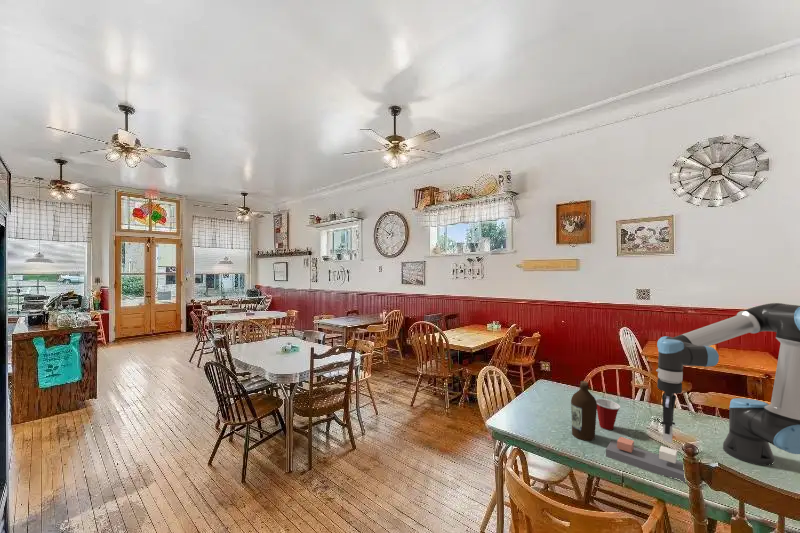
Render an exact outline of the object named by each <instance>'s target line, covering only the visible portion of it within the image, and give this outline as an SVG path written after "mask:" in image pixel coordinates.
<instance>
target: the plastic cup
mask: <svg viewBox="0 0 800 533" xmlns="http://www.w3.org/2000/svg"><path fill="white" fill-rule="evenodd" d="M595 400H596V402H597V413H596V414H597V419H598V423H599V426H600V428H601V429H604V430H607V431H611V430H614V427H615V423H616V419H617V415H618V412H619V410H620V409H621V405H620V404H618V403H617V402H615V401H612V400H609V399H606V398H605V399H604V398H595Z"/></svg>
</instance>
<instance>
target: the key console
mask: <svg viewBox="0 0 800 533" xmlns="http://www.w3.org/2000/svg"><path fill="white" fill-rule="evenodd" d="M605 457H607V458H609V459H613V460H615V461H618V462H622V463H623V464H624V463H625V464H627V465H630V466H633V467H635V468H639V469H643V470H644V471H648V472H651V473H654V474H656V473H657V474H656V475H659V474H660V476H662V475H664V476H663V477H665V476H668V477H672V478H677V479H680V480H681V481H683V482H684V483H683V484H686V482H685V478H684V470H683V463H682V462H683V461H680V460H677V459H676V463H672V462H669V461H666V460H662V459H659V453H658V454H657V453H654V452H651V451H648V450H645V449H641V448H638V447H635V446H634V449H633V451H632V453H630V452H627V451H624V450H621V449H618V448H617V441H616V440H613V439H612V440H611V441H610V442H609V444H608V445H607V447H606V448H605ZM668 477H667V478H668Z"/></svg>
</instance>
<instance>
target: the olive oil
mask: <svg viewBox="0 0 800 533" xmlns="http://www.w3.org/2000/svg"><path fill="white" fill-rule="evenodd" d="M595 399H596V398H595V397H594V395H593V394H592V393H591V392H590V391H589V382H588V381H585V380H581V381H580V384H579V389H578V390H577V391H576V392H575V393H573V394H572V396H571V399H570V409H571V434H572V435H573V437H574V438H576V439H578V440H581V441H587V442H590V441H591V442H592V441H594V440H595V439H596V423H597V414H598V413H597V402H596V400H595Z"/></svg>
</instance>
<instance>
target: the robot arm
mask: <svg viewBox="0 0 800 533" xmlns="http://www.w3.org/2000/svg"><path fill="white" fill-rule="evenodd" d="M760 332H774V333H775V339H776V340H777V341H778V342H779V343H780V345H779V351H778V358H777V363H776V370H775V375H774V376H775V377H774V381H773V382H774V383H773V389H772V393H771V400H770V404H768V403H767V402H765V401H761V400H758V399H753V398H752V399H751V398H741V397H738V398H737V397H735V398H732V399H730V402H729V413H728V414H729V419H728V420H729V422H728V423H729V424H728V425H729V426H728V427H729V429H728V433H727V436H726V437H725V439H724V441H723V444H722V449H723V451H724V453H726V454H728V455H729V456H731V457H734V458H735V459H737V460H739V461H742V462H746V463H750V464H753V463H754V465H758V466H770V465H769V464H772V463H773V462H774V463H775V456H774V454H773V451H772V449H771V445H773V446H774V447H775V448H777V449H778V450H782V451H785V452H787V453H789V454H793V455H800V305H797V304H788V303H779V302H773V303H765V304H761V305H758V306H757V305H756V306H752V307H750V308H746V309H744V310H741V311H738V312H737V313H736V315H734V316H732V317H729V318H726V319H724V320H723V319H722V320H720V321H717V322H714V323H711V324H708V325H706V326H702V327H700V328H696V329H694V330H691V331H688V332H685V333H683V334H679V335H676V336H674V337H673V336H668V335H667V336H665V335H664V336H661V337H660V338H659V339H658V340H657V344H656V346H657V351H658V355H657V356H658V359H657V367H658V368H657V369H656V370H655V371H656V372H657V382H656V384H657V389H658V390H659V391H662V392H663V393H662V396H661V400H662V421H661V422H660V424H662V425H663V427H662V433H663V434H662V441H664V442H666V443H670V444H672V443H673V428H674V427H673V426H675V425H676V423H675V422H673V421H674V410H675V406H676V399H677V396H676V395H675V394H681V393H682V391H683V383H682V382H683V381H684V380H683V378H684V377H683V376H684V372H683V371H684V366H685V367H686V366H687V367H688V366H689V367H690V366H691V367H705V368H706V367H714V366H716V365H718V363H719V361H720V360H719V358H720V354H719V353H718V351H717V350H716V349H715V348H714V347H712V346H713V345H716V344H719V343H722V342H725V341H728V340H731V339H734V338H737V337H740V336H743V335H746V334H749V333H750V334H757V333H760ZM772 465H773V464H772Z"/></svg>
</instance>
